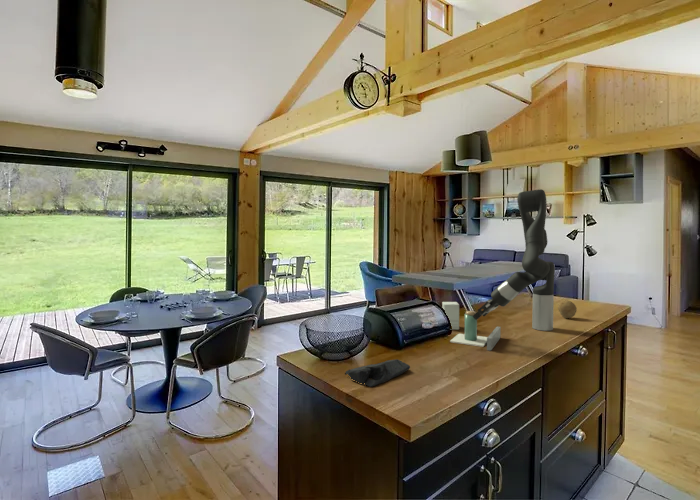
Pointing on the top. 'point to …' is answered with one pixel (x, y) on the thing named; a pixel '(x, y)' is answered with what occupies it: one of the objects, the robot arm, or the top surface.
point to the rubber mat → (461, 340)
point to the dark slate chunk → (378, 372)
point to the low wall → (493, 338)
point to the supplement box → (452, 313)
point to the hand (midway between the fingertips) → (478, 316)
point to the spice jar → (470, 326)
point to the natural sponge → (567, 309)
